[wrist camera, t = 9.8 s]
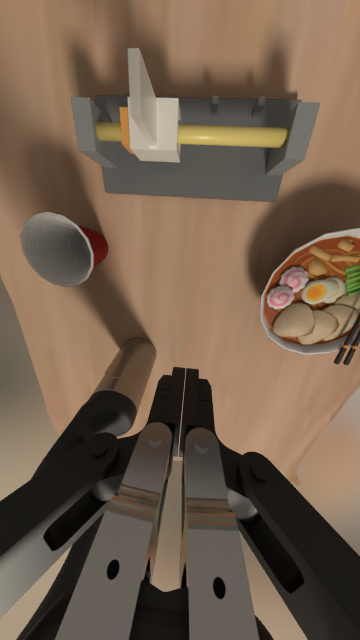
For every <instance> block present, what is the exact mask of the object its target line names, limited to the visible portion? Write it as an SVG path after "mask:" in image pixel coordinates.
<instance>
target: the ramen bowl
mask: <svg viewBox="0 0 360 640" xmlns="http://www.w3.org/2000/svg"><path fill="white" fill-rule="evenodd" d="M260 320H261V322H262V324H263V326H264V329H265V331H266V333H267V335H268V337H269V338H270V339H272V340H273V341H274V342H276V343H277V344H278V345H280V346H281V347H282V348H284V349H286V350H290V351H294V352H298V353H302V354H305V355H306V354H320V353H331V352H334V351H337V350H340V351H339V353H338V355H337V357H336V359H335V361H334V363H335V364H339V363H340V361H341V359H342V357H343V355H344V353H345V351H346V349H347V347H349V346H351V345H352V347H351V348H350V350H349V352H348V354H347V356H346V358H345V360H344V362H343V363H344V364H345V365H349V363H350V361H351V359H352V357H353V354H354V352H355V350H356V347H357V346H358V344H359V342H360V228H354V229H348V230H342V231H336V232H330V233H325V234H323V235H321V236H320V237H318V238H316V239H314V240H312V241H310V242H308V243H306V244H304V245H302V246H300V247H299V248H297V249H295V250H294V251H293V252H292V253H291V254H290V255H289V256H288V257H287V258H286V259H285V260H284V261H283V262H282V263H281V264H280V265H279V266H278V267H277V268H276V269H275V270H274V271H273V273H272V274H271V277H270V279H269V281H268V283H267V285H266V287H265V289H264V291H263V293H262V295H261V306H260Z"/></svg>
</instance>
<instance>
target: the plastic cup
mask: <svg viewBox="0 0 360 640" xmlns="http://www.w3.org/2000/svg"><path fill="white" fill-rule="evenodd" d="M21 243H22V249H23V253H24V255H25V257H26V259H27V260H28V262H29V264H30V266H31V267H32V268H33V269H34V270H35V271H36V272H37V273H38V274H39V275H40V276H41V277H42V278H44V279H46V280H47V281H49V282H51V283H53V284H55V285H60V286H64V287H70V286H76V285H79V284H81V283H82V282H84V281H85V280H86V279H88V277H89V275H90V273H91V271H92V269H93V268H94V267H95V266H96V265H97V264H99V263H100V262H101V261H102V260H103V259H104V258H105V257H106V255H107V253H108V245H107V242H106V240H105V239H104V237H103V236H102V235H100V234H99V233H97V232H96V231H92V230H90V229H88V228H85V227H82V226H79V225H76V224H75V223H73V222H72V221H70V220H69V219H67V218H66V217H64V216H63V215H59V214H55V213H51V212H44V213H39V214H34V215H33V216H32V217H31V218H30V219H29V220H28V221H27V222H25V223H24V226H23V230H22V234H21Z"/></svg>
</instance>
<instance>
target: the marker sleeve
mask: <svg viewBox="0 0 360 640" xmlns="http://www.w3.org/2000/svg"><path fill="white" fill-rule="evenodd" d="M128 70H129V92H130V97H128V116H129V136H130V149H131V150H132V151H133V153H134V154H135V155H136V156H137V157H138V158H139V160H140V161H157V162H180V151H181V144H178V124H181V125H182V117H181V111H180V105H179V98H156V97H155V94H154V91H153V88H152V85H151V82H150V79H149V76H148V73H147V70H146V67H145V64H144V61H143V58H142V55H141V52H140V49H139V48H128Z"/></svg>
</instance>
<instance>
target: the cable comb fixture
mask: <svg viewBox="0 0 360 640" xmlns="http://www.w3.org/2000/svg"><path fill="white" fill-rule="evenodd" d="M128 97H130V93H125V96H105V95H95V101H96V105H95V103H94V102H93V101H92V100H91V99H90V97H71V102H72V109H73V116H74V123H75V130H76V136H77V143H78V150H79V151H80V152H82V153H83V154H85V155H86V156H88V157H89V158H91V159H92V160H94V161H95V162H97V163H98V164H100V165H101V166H102V167H103V176H104V186H105V192H107V193H115V194H133V195H152V196H170V197H188V198H206V199H224V200H242V201H261V202H276V200H277V196H278V192H279V188H280V184H281V180H282V176H283V174H284V173H285V172H287V171H288V170H290V169H291V168H293V167H294V166H296V165H297V164H299V163H300V162H302V161H303V160H304V159H305V155H306V152H307V148H308V145H309V141H310V138H311V134H312V131H313V127H314V124H315V120H316V117H317V113H318V110H319V106H320V103H307V102H301V100H285V99H265V97H266V96H259V98H258V99H240V98H219V95H213V98H195V97H174V94H168V97H156V98H179V105H180V111H181V117H182V125H181V124H178V144H181V151H180V162H157V161H140V160H139V158H138V157H137V156H136V155H135V154H134V153H133V151H132V150H131V149H130V136H129V116H128Z"/></svg>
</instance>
